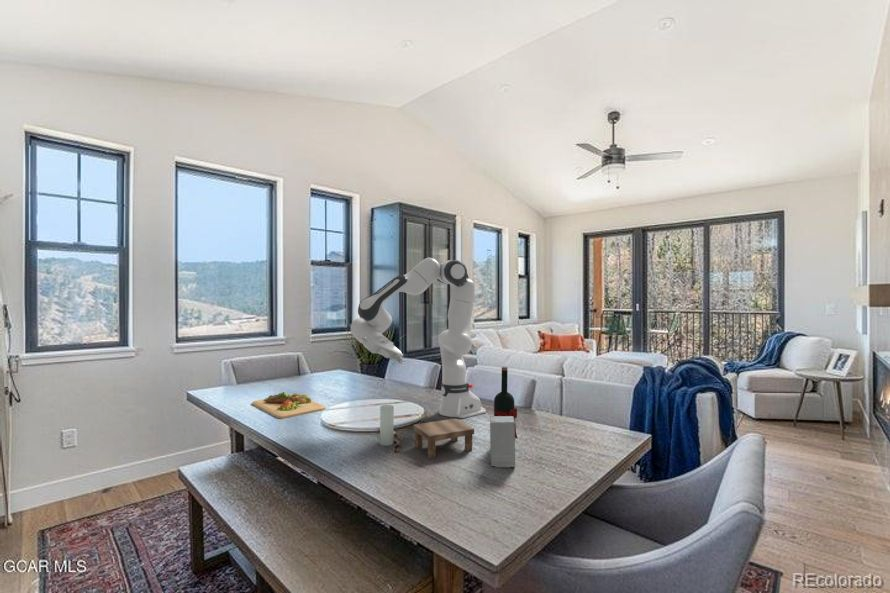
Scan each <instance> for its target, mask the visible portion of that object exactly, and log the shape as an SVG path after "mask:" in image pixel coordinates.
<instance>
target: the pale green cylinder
mask: <svg viewBox="0 0 890 593" xmlns="http://www.w3.org/2000/svg"><path fill="white" fill-rule="evenodd" d="M379 408H380V409H379V413H380V414H379V415H380V416H379V421H380V422H379V426H380V427H379V428H380V429H379V445H380V446H386V447H389V446H392V445H393V444H394V417H395V416H394V415H395V414H394V405H391V404H384V405H381V406H380V407H379Z"/></svg>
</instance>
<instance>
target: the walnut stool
mask: <svg viewBox="0 0 890 593" xmlns="http://www.w3.org/2000/svg"><path fill="white" fill-rule="evenodd" d="M413 431H414V432H415V433H414V434H415V435H414V436H415V438H414V440H415V442H414V444H415V445H414V447H416V448H417V449H418V448H422V447H423V438H424V439H425V440H426V441H427V457H428V458H429V459H434V458H436V442H437V441H442V440H443V441H444V440H449V439H450V441H451V442H457V441H459V440H458V438H460V437H464V450H465V451H466V452H471V451H473V435H475V428H473V427H472V426H471V425H468V424H467V423H465V422H463V421H461V420H459V419H457V417H454V418H450V419H442V420H436V421H429V422H423V423H417V424H413Z"/></svg>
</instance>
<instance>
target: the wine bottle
mask: <svg viewBox="0 0 890 593" xmlns="http://www.w3.org/2000/svg"><path fill="white" fill-rule="evenodd" d="M508 369H509V367H508V366H501V391H500V392H498V393H496V395H495V397H494V400H493V416H513V417H514V422H515V423H516V419H517V418H518V408H517V407H515V398H514V396H513V395H512V393H510V392H509V391H508V374H509V373H508ZM518 439H519V438H518V435H517V426H516V424H515V440H518Z"/></svg>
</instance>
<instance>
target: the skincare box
mask: <svg viewBox="0 0 890 593" xmlns="http://www.w3.org/2000/svg"><path fill="white" fill-rule="evenodd" d="M515 425H516V421H515V422H514V417H513V416H494V415H490V419H489V434H490V435H489V436H490V437H489V438H490V439H489V440H490V441H489V442H490V443H489V444H490V445H489V446H490V449H489V450H490V466H496V467H495V468H510V467H515V468H516V439H515Z"/></svg>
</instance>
